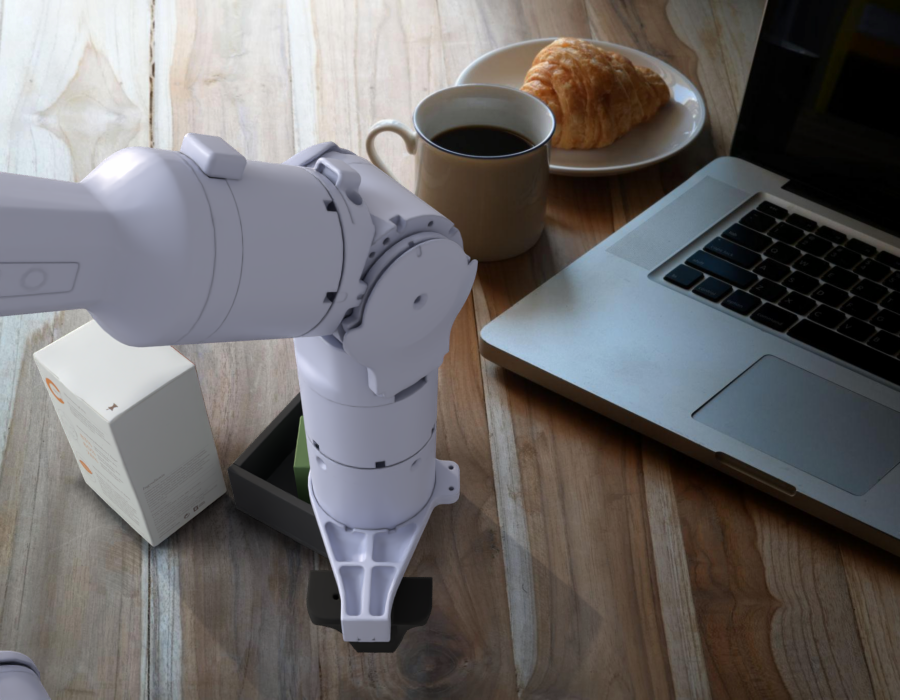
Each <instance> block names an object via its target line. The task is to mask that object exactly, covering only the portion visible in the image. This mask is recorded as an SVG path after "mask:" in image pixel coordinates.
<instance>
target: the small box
mask: <svg viewBox="0 0 900 700" xmlns="http://www.w3.org/2000/svg"><path fill="white" fill-rule="evenodd" d="M32 357H33V360H34V363H35V365H36V367H37V370H38V372H39V374H40V377H41V379H42V382H43V384H44V386H45V389H46V391H47V393H48V395H49V398H50V400H51V403H52V405H53V408H54V410H55V412H56V415H57V417H58V420H59V422H60V424H61V427H62V429H63V432H64V434H65V436H66V438H67V441H68V443H69V445H70V448H71V450H72V453H73V455H74V459H75V460H76V462H77V465H78V468H79V470H80V472H81V475H82V477H83V479H84V482H85V484H86V485H87V486H88V487H89V488H90V489H91V490H92V491H93V492H95V493H96V495H97V496H98V497H100V498H101V499H102V500H103V501H104V502H105V503H106V504H107V505H108V506H109V507H110V508H111V509H112V510H113V511H114V512H115V513H116V514H117V515H118V516H119V517H121V518H122V519H123V520H124V521H125V522H126V523H127V524H128V525H129V526H130V527H131V528H132V529H133V530H134V531H135V532H136V533H137V534H138V535H140V536H141V538H143V539H144V540H145V541H146V542H147V543H148V544H149V545H150V546H152V547H154V548H156V547H157V546H159V545H160V544H161V543H162V542H164V541H165V540H166V539H167V538H169V537H170V536H172V535H173V534H174V533H175V532H177V531H178V530H179V529H181V528H183V526H184V525H186V524H187V523H189V522H190V521H191V520H192V519H193V518H195V517H196V516H197V515H199V514H200V513H201V512H202V511H204V510H205V509H206V508H207V507H209V506H210V505H211V504H212V503H214V502H215V501H216V500H218V499H219V498H221V496H223V495H224V494H225V493H226V492H228V491H227V490H228V489H227V485H226V481H225V477H224V473H223V469H222V465H221V462H220V458H219V454H218V450H217V446H216V442H215V438H214V434H213V430H212V426H211V425H212V424H211V422H210V417H209V415H208V414H209V413H208V410H207V406H206V402H205V399H204V395H203V390H202V387H201V383H200V379H199V374H198V370H197V367H196V363H194V361H192V360H190V359H189V358H188V357H186V356H185V355H184V354H183V353H181V352H180V351H179V350H177V349H176V348H175V347H174V346H173V345H172V346H156V347H132V346H128V345H125V344H122V343H120V342H119V341H117V340H115V339H114V338H113V337H111V336H110V335H109V334H108V333H106V332H105V331H104V330H103V329H102V328H101V327H100V326H99V325H98V323H97V322H96V321H95V320H94V319H93V318H92V319H91V320H89V321H87V322H85V323H84V324H82V325H80V326H79V327H77V328H75V329H73V330H72V331H70V332H69V333H67V334H65V335H63V336H61V337H60V338H58V339H56V340H54V341H53V342H51V343H49V344H47V345H46V346H44V347H42V348H41V349H38V350H37V351H35V352H33V354H32Z"/></svg>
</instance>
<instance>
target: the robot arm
mask: <svg viewBox="0 0 900 700" xmlns="http://www.w3.org/2000/svg"><path fill="white" fill-rule="evenodd" d="M464 250H465V249H464V241H463V237H462V234H461V231H460V230H459V228H457V227H456V226H455V223H454V222H452V221H451V220H450V219H449V218H447V216H445V215H443V214H442V213H441V212H439V211H438V210H437V209H436V208H434V207H433V206H431V205H430V204H428V202H426V201H425V200H423V199H421V198H420V197H419V196H418V195H416V194H414V192H412V191H410V190H409V189H408V188H407V187H406V186H403V185H402V183H400V182H398V181H397V180H396V179H394V178H393V177H392V176H390V175H389V174H388V173H386V172H384V171H383V170H382V169H381V168H380V167H378V166H377V165H375V164H374V163H372V162H371V161H369V160H368V159H367V158H365V157H362V156H360V155H358V154H356V153H355V152H353V151H351V150H349V149H347V148H342V147H340V146H339V145H338V144H337V143H336V142H334V141H331V140H330V141H324V142H319V143H316V144H314V145H313V144H312V145H311V146H307V147H306V148H304V149H302V150H300V151H298V152H297V153H294V154H293V155H292V156H291V157H289V158H287V159H286V160H284V161H283V162H281V163H277V162H271V161H270V162H269V161H261V160H255V159H254V160H253V159H247V158H246V157H245V156H244V155H243V154H242V153H241V152H240V151H238V150H237V149H235V148H234V147H233V146H232V145H230V144H229V143H228V142H227V141H226V140H225V139H224V138H222V137H221V136H217V135H210V134H203V133H197V132H187V133H185V135H184V136H183V139H182V142H181V145H180V149H179V150H173V149H172V150H171V149H163V148H157V147H148V146H142V145H141V146H139V145H138V146H137V145H136V146H127V147H124V148H121V149H119V150H117V151H115V152H113V153H111V154H110V155H108V156H107V157H106V158H104V159H103V160H102V161H101V162H100V163H99V164H98V165H96V166H95V168H93V169H92V170H91V171H90V172H89V173H88V174H87V175H86V176H85V177H84V178H82V179H81V180H80V181H79V182H77V181H75V182H74V181H69V180H61V179H56V178H55V179H54V178H49V177H43V176H42V177H41V176H34V175H27V174H21V173H14V172H6V171H0V318H2V317H11V316H13V317H14V316H21V315H22V316H23V315H32V314H33V315H34V314H41V313H43V314H45V313H54V312H63V311H74V310H86V312H87V313H88V314H89V315H90V317H91V318H92V319H94V320H95V321H96V322H97V323H98V325H99V326H100V327H101V328H102V329H103V330H104V331H105V332H106V333H108V334H109V335H110V336H111V337H113V338H114V339H115V340H117V341H119V342H120V343H122V344H125V345H128V346H132V347H156V346H172V347H173V346H186V345H202V344H217V343H218V344H219V343H233V342H235V343H236V342H251V341H267V340H283V339H293V340H292V341H293V349H294V355H295V356H294V357H295V362H296V363H295V364H296V371H297V379H298V385H299V386H298V387H299V392H300V394H301V402H302V409H303V416H304V425H305V432H306V440H307V448H308V456H309V463H310V472H309V476H308V489H309V496H310V500H311V504H312V507H313V510H314V514H315V517H316V520H317V523H318V526H319V529H320V532H321V535H322V539H323V542H324V545H325V548H326V551H327V554H328V557H329V559H328V561H329V563H330V567H331V569H310V570H309V571H308V580H307V589H306V597H305V603H306V604H305V605H306V610H307V613H308V617H309V621H310V622H311V623H312V624H313V625H314V626H320V627H325V628H329V629H332V630H335V631H337V632H338V633H340V634H341V635H342V639H343V641H344V642H348V643H349V645H350V646H351V648H353V649H354V651H356V653H358V654H359V653H360V654H361V653H362V654H394V653H395V652H396V651H397V650H398V648H399V647H400V645H401V643H402V641H403V639H404V637H405V635H406V633H407V632H408V631H410V630H412V629H414V628H415V629H416V628H418V627H424V626H426V625H427V623H428V621H429V620H430V617H431V615H432V611H433V604H434V603H433V601H434V600H433V599H434V598H433V597H434V596H433V595H434V594H433V593H434V590H433V588H434V584H433V583H434V582H433V581H434V578H433V576H404V575H405V573H406V571H407V569H408V566H409V565H410V562H411V560H412V557H413V556H414V553H415V551H416V549H417V547H418V544H419V542H420V540H421V537H422V535H423V533H424V530H425V528H426V526H427V524H428V522H429V520H430V517H431V515H432V512H433V510H434V509H435V508H436V507H438V506H439V505H451V504H454V503H456V502H458V501H459V498H460V493H461V474H460V473H461V471H460V467H459V464H458V463H457V462H455V461H453V460H443V459H439V458H437V427H438V426H437V425H438V423H437V421H438V397H439V395H438V394H439V368H440V367H441V366H442V364H443V363H444V357H445V356H446V355H447V354H448V353H449V352H450V337H451V332H452V328H453V325H454V323H455V321H456V319H457V317H458V315H459V313H460V312H461V310H462V308H463V307H464V305H465V304H466V302H467V299H468V297H469V295H470V293H471V291H472V288H473V285H474V284H475V279H476V277H477V271H478V263H479V261H478V260H477V259H472V260H471V256H470V255H468V254H467V253H466V252H465V251H464ZM0 700H52V698H51V696H50V694H49V693H48V691H47V690H46V688H45V686H44V685H43V683H42V681H41V672H40V670H39V668H38V666H37V665H36V663H35V662H34V660H33V659H32V658H30V657H29V656H28V655H26V654H25V653H22V652H19V651H14V650H0Z"/></svg>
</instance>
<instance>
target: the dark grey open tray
mask: <svg viewBox="0 0 900 700" xmlns="http://www.w3.org/2000/svg"><path fill="white" fill-rule="evenodd" d="M301 416H303V409H302V402H301V394H300V391H299V392H298V393H296V395H295V396H294V397H293V398H292V399H291V400H290V401H289V402H288V403H287V404H286V405H285V407H284V408H282V410H281V411H280V412H279V413H278V414H277V415H276V416H275V417H274V418H273V419H272V421H271V422H269V424H268V425H267V426H266V427H265V428H264V429H263V430H262V431H261V432H260V434H258V436H256V437H255V438H254V439H253V441H252V442H251V443H250V444H249V445H248V446H247V447H246V448H245V449H244V450H243V451H242V452H241V453H240V454H239V456H238V457H237V458H236V459H235V460H234V461H233V462H232V463H231V464H230V466H228V467H227V469H226V472H227V475H228V479H229V484H230V487H231V492H232V495H233V500H234V505H235V508H236V509H237V510H239V511H241V512H242V513H244V514H246V515H248V516H250V517H251V518H253V519H255V520H256V521H259V522H261V523H262V524H264V525H266V526H267V527H269V528H271V529H273V530H275V531H277V532H278V533H280V534H282V535H284V536H286V537H287V538H289V539H291V540H293V541H295V542H297V543H298V544H300V545H302V546H304V547H306V548H307V549H308V550H311V551H313V552H314V553H317V554H318V555H320V556H323V557H324V558H325V559H328V560H329V557H328V554H327V551H326V548H325V545H324V542H323V539H322V535H321V532H320V529H319V526H318V523H317V520H316V517H315V514H314V510H313V507H312V505H310V504H308V503H306V502H304V501H302V500H300V499H298V493H297V487H296V480H295V474H294V459H295V452H296V445H297V438H298V430H299V423H300V417H301Z"/></svg>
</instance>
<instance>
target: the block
mask: <svg viewBox="0 0 900 700" xmlns="http://www.w3.org/2000/svg"><path fill="white" fill-rule="evenodd" d="M309 472H310V463H309V456H308V448H307V440H306V432H305V425H304V416H301V417H300V423H299V430H298V438H297V445H296V452H295V459H294V474H295V480H296V487H297V493H298V499H300V500H302V501H304V502H306V503H308V504H310V505H312V504H311V500H310V496H309V489H308V476H309Z"/></svg>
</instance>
